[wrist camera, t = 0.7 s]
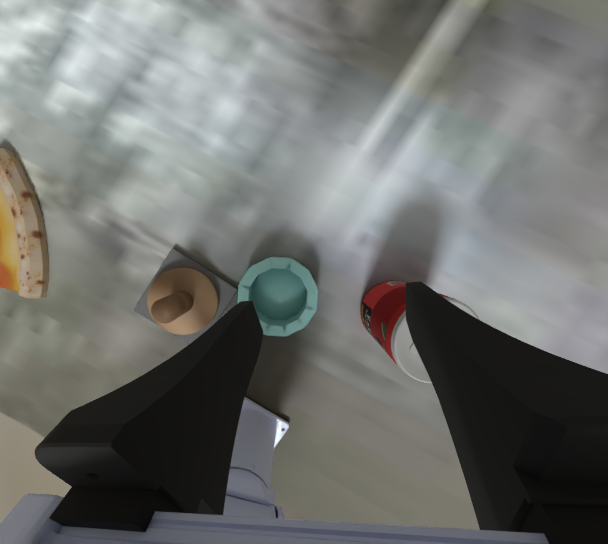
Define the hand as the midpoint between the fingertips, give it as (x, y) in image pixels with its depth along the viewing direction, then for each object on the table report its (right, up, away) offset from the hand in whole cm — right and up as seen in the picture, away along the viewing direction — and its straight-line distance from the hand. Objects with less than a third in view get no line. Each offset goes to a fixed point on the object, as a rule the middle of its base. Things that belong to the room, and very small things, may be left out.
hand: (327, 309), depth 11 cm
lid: (-16, -2, +18) cm, 24 cm away
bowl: (-4, -1, +19) cm, 20 cm away
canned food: (+10, -3, +20) cm, 23 cm away
